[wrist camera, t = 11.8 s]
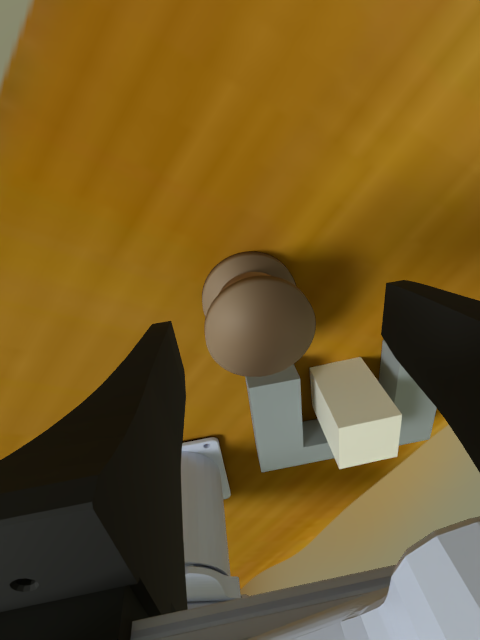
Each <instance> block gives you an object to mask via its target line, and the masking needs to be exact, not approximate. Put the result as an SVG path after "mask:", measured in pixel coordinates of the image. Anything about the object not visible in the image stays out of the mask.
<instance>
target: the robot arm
mask: <svg viewBox="0 0 480 640" xmlns="http://www.w3.org/2000/svg"><path fill="white" fill-rule="evenodd" d="M381 335H382V337H383V338H384V340H385V342H386V344H387V345H388V347H389V349H390V350H391V352H392V354H393V355H394V357H395V358H396V359H397V361H398V362H399V363H400V364H401V366H402V367H403V368H404V369H405V370H406V372H407V373H408V374H409V375H410V377H411V378H412V379H413V380H414V381H415V382H416V384H417V385H418V386H419V387H420V388H421V390H422V391H423V392H424V393H425V394H426V396H427V397H428V398H429V399H430V400H431V401H432V403H433V404H434V405H435V406H436V407H437V409H438V410H439V411H440V413H441V414H442V415H443V417H444V418H445V419H446V421H447V422H448V424H449V425H450V427H451V428H452V430H453V431H454V433H455V434H456V436H457V437H458V439H459V440H460V442H461V443H462V445H463V446H464V448H465V450H466V451H467V453H468V454H469V456H470V458H471V459H472V461H473V462H474V464H475V466H476V467H477V469H478V470H479V472H480V301H478V300H475V299H471V298H468V297H464V296H461V295H458V294H454V293H451V292H448V291H444V290H441V289H438V288H434V287H431V286H428V285H424V284H420V283H416V282H412V281H407V280H402V281H396V282H390V283H386V292H385V302H384V312H383V322H382V332H381ZM185 401H186V391H185V374H184V367H183V364H182V360H181V356H180V353H179V349H178V345H177V341H176V338H175V334H174V330H173V326H172V323H171V321H168V322H162V323H156V324H152V325H151V326H150V328H149V329H148V330H147V332H146V333H145V334H144V335H143V337H142V338H141V339H140V341H139V342H138V343H137V345H136V346H135V347H134V348H133V350H132V351H131V352H130V354H129V355H128V356H127V357H126V359H125V360H124V361H123V362H122V363H121V364H120V365H119V366H118V367H117V369H116V370H115V371H114V372H113V373H112V374H111V375H110V376H109V378H108V379H107V380H106V381H105V382H104V383H103V384H102V385H101V386H100V387H99V388H98V389H97V390H96V391H94V392H93V393H92V394H91V395H90V396H89V397H88V398H87V399H86V400H85V401H83V402H82V403H81V404H80V405H79V406H77V407H76V408H75V409H74V410H72V411H71V412H70V413H69V414H67V415H66V416H65V417H63V418H62V419H61V420H60V421H58V422H57V423H56V424H54V425H53V426H52V427H51V428H49V429H48V430H46V431H45V432H43V433H42V434H41V435H39V436H38V437H36V438H35V439H33V440H32V441H30V442H29V443H27V444H26V445H24V446H23V447H21V448H20V449H18V450H16V451H15V452H13V453H12V454H10V455H8V456H7V457H5V458H3V459H2V460H0V640H480V517H475V518H470V519H467V520H464V521H461V522H459V523H455V524H453V525H450V526H447V527H444V528H441V529H438V530H435V531H433V532H432V533H430V534H429V535H427V536H426V537H424V538H423V539H421V540H420V541H418V542H417V543H415V544H414V545H412V546H411V547H409V548H408V549H407V550H406V551H405V553H404V554H403V556H402V557H401V559H400V560H399V562H398V563H397V565H393V566H388V567H383V568H378V569H374V570H369V571H364V572H360V573H355V574H350V575H346V576H341V577H336V578H332V579H327V580H322V581H318V582H313V583H309V584H304V585H299V586H294V587H290V588H286V589H281V590H276V591H271V592H266V593H262V594H257V595H253V596H248V595H246V594H243V595H241V594H240V585H239V578H238V577H232V576H230V567H229V556H228V546H227V535H226V525H225V514H224V503H223V499H227V498H229V497H230V496H231V493H230V488H229V483H228V479H227V475H226V471H225V466H224V462H223V458H222V454H221V449H220V445H219V441H218V439H217V438H215V437H211V438H206V439H200V440H195V441H190V442H185V443H182V441H183V428H184V415H185Z"/></svg>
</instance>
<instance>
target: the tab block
mask: <svg viewBox="0 0 480 640" xmlns="http://www.w3.org/2000/svg"><path fill="white" fill-rule="evenodd" d="M309 369H310V384H311V398H312V407H313V409H314V411H315V414H316V416H317V418H318V421H319V423H320V425H321V428H322V430H323V432H324V435H325V437H326V439H327V442H328V444H329V446H330V448H331V451H332V453H333V455H334V458H335V460H336V462H337V465H338V467H339V469H343V468H347V467H352V466H356V465H361V464H365V463H370V462H374V461H379V460H384V459H388V458H393V457H397V454H398V446H399V437H400V429H401V420H402V414H401V412H400V411H399V410H398V408H397V407H396V405H395V404H394V403H393V401H392V400H391V398H390V397H389V396H388V394H387V393H386V391H385V390H384V389H383V387H382V386H381V385H380V383H379V382H378V380H377V379H376V378H375V376H374V375H373V373H372V372H371V371H370V369H369V368H368V366H367V365H366V364H365V362H364V361H363V360H362V358H361V357H358V358H353V359H349V360H344V361H339V362H334V363H330V364H325V365H320V366H315V367H311V368H309Z"/></svg>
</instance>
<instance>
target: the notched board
mask: <svg viewBox="0 0 480 640" xmlns="http://www.w3.org/2000/svg"><path fill="white" fill-rule="evenodd" d="M245 377H246V383H247V390H248V397H249V403H250V410H251V416H252V423H253V429H254V436H255V442H256V448H257V453H258V458H259V463H260V467H261V472H266V471H271V470H277V469H282V468H287V467H292V466H297V465H302V464H307V463H312V462H317V461H322V460H327V459H332V458H334V455H333V453H332V451H331V448H330V446H329V444H328V442H327V439H326V437H325V435H324V432H323V430H322V428H321V425H320V423H319V421H318V419H314V420H309V421H304V422H302V407H301V386H300V377H299V375H298V373H297V370H296V368H295V366H294V364H293V365H291V366H290V367H288V368H287V369H285V370H283V371H280V372H278V373H275V374H272V375H268V376H261V377H247V376H245ZM379 383H380V385H381V386H382V387H383V389H384V390H385V391H386V393H387V394H388V396H389V397H390V398H391V400H392V401H393V403H394V404H395V405H396V407H397V408H398V410H399V411H400V412H401V414H402V420H401V429H400V437H399V445H403V444H408V443H413V442H418V441H423V440H428V439H430V435H431V430H432V426H433V422H434V417H435V413H436V408H437V407H436V406H435V405H434V404H433V403H432V401H431V400H430V399H429V398H428V397H427V396H426V394H425V393H424V392H423V391H422V390H421V388H420V387H419V386H418V385H417V384H416V382H415V381H414V380H413V379H412V378H411V377H410V375H409V374H408V373H407V372H406V370H405V369H404V368H403V367H402V366H401V364H400V363H399V362H398V361H397V359H396V358H395V357H394V355H393V354H392V352H391V350H390V349H389V347H388V345H387V344H386V342H385V340H383V344H382V353H381V363H380V372H379Z"/></svg>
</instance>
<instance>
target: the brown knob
mask: <svg viewBox="0 0 480 640" xmlns="http://www.w3.org/2000/svg"><path fill="white" fill-rule="evenodd" d="M202 302H203V310H204V314H205V317H206V319H205V338H206V344H207V348H208V350H209V352H210V354H211V356H212V357H213V359H214V360H215V361H216V362H217V363H218V364H219V365H220V366H221V367H223V368H224V369H226V370H228V371H230V372H232V373H234V374H238V375H241V376H247V377H261V376H268V375H272V374H275V373H278V372H280V371H283V370H285V369H287V368H288V367H290V366H291V365H293V364H294V363H295V362H297V361H298V360H299V359H300V358H301V357H302V356H303V355H304V354H305V352H306V351H307V349H308V348H309V346H310V344H311V342H312V340H313V337H314V333H315V326H316V322H315V315H314V311H313V309H312V307H311V305H310V303H309V302H308V300H307V298H306V297H305V295H304V294H303V293H302V292H301V290H300V289H299V288H297V287H296V284H295V281H294V279H293V277H292V276H291V274H290V272H289V271H288V269H287V268H286V267H285V266H284V264H283V263H281V262H280V261H279V260H278V259H276V258H274V257H273V256H270V255H268V254H265V253H261V252H242V253H238V254H235V255H232V256H230V257H228V258H226V259H224V260H223V261H221V262H220V263H219V264H217V265H216V266H215V267H214V268H213V270H212V271H211V272H210V274H209V275H208V277H207V279H206V281H205V283H204V287H203V292H202Z"/></svg>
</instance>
